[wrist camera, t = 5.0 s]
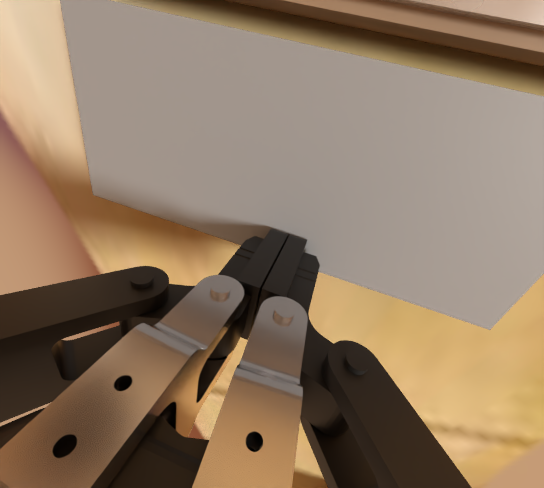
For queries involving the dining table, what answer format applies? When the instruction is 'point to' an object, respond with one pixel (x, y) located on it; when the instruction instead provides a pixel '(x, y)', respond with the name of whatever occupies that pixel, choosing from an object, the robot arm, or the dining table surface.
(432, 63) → the dining table surface
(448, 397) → the dining table surface
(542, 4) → the glossy brown slab
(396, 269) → the slate plank
